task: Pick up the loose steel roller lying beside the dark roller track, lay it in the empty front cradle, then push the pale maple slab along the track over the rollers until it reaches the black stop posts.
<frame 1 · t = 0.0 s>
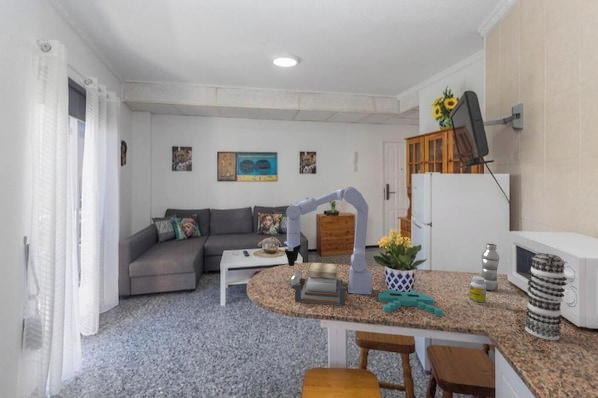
hand: (293, 263, 127), 10 cm above the breakfast bar counter, tool pointing down, fingers open, 7 cm apart
supplement bottle: (477, 302, 114), on the breakfast bar counter
alien figure: (405, 303, 113), on the breakfast bar counter
loose roller: (296, 283, 131), on the breakfast bar counter
slab: (323, 270, 130), point 6 cm above the breakfast bar counter, slide at 0.0 cm
roller bed: (321, 289, 124), on the breakfast bar counter
decorative candle: (541, 333, 92), on the breakfast bar counter
plastic bottle: (488, 289, 127), on the breakfast bar counter
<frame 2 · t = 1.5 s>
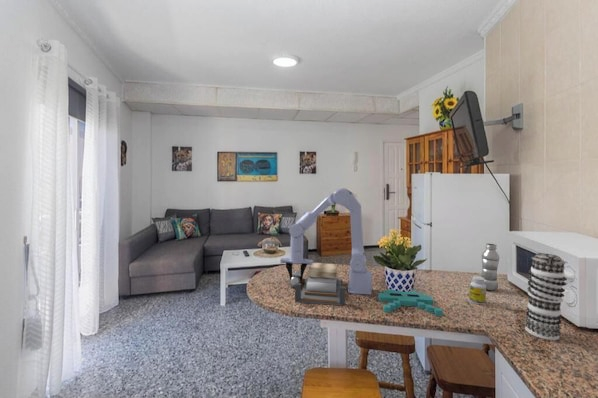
hand: (296, 279, 131), 1 cm above the breakfast bar counter, tool pointing down, fingers closed on loose roller, 4 cm apart
loose roller: (296, 282, 131), on the breakfast bar counter, touching gripper
everything else where it was.
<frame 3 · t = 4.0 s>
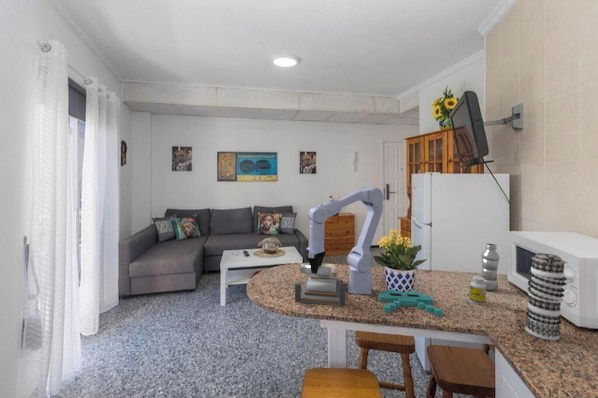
hand: (316, 271, 116), 10 cm above the breakfast bar counter, tool pointing down, fingers closed on loose roller, 4 cm apart
loose roller: (315, 275, 116), point 9 cm above the breakfast bar counter, touching gripper
everything else where it was.
when the fingers open (3 cm above the breakfast bar counter, at t = 6.4 s): loose roller stays where it is, resting on roller bed.
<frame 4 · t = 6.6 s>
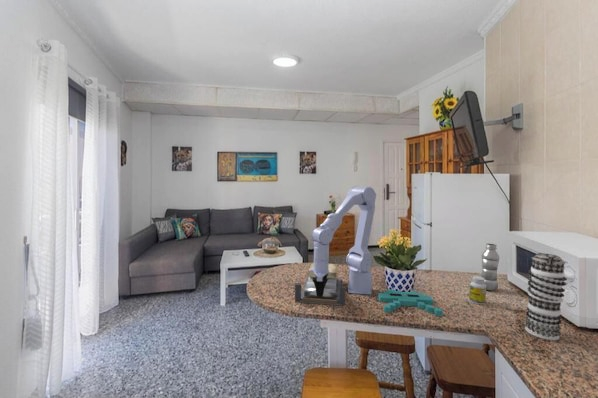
hand: (320, 292, 114), 3 cm above the breakfast bar counter, tool pointing down, fingers open, 6 cm apart
loose roller: (320, 298, 114), resting on roller bed
everything else where it was.
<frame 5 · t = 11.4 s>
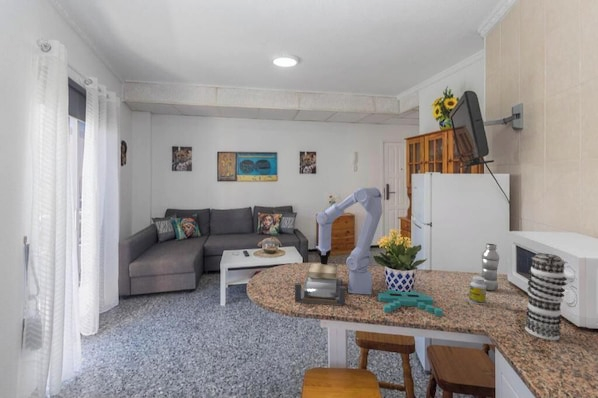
hand: (324, 266, 136), 6 cm above the breakfast bar counter, tool pointing down, fingers closed
loose roller: (320, 298, 114), resting on roller bed, tilted 15°
slab: (323, 270, 129), point 6 cm above the breakfast bar counter, slide at 0.9 cm, touching gripper
everything else where it was.
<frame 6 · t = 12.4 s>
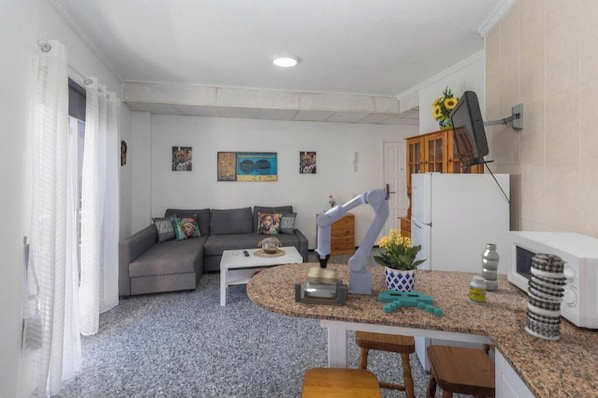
hand: (323, 270, 130), 6 cm above the breakfast bar counter, tool pointing down, fingers closed
slab: (322, 275, 123), point 6 cm above the breakfast bar counter, slide at 6.8 cm, touching gripper
everything else where it was.
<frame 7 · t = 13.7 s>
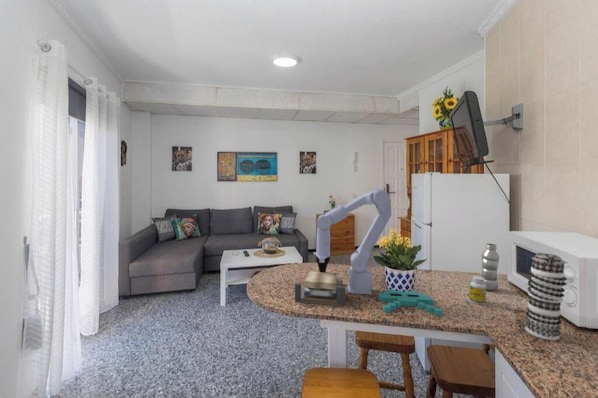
hand: (322, 274, 125), 6 cm above the breakfast bar counter, tool pointing down, fingers closed
loose roller: (320, 298, 114), resting on roller bed, tilted 6°
slab: (321, 279, 118), point 6 cm above the breakfast bar counter, slide at 12.3 cm, touching gripper
everything else where it was.
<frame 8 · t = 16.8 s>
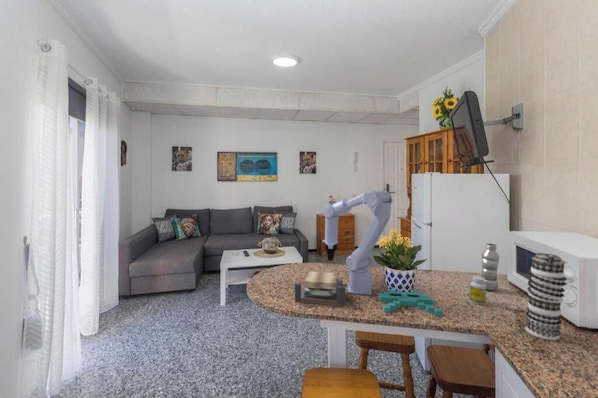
hand: (330, 260, 134), 9 cm above the breakfast bar counter, tool pointing down, fingers closed
loose roller: (320, 298, 114), resting on roller bed, tilted 12°
slab: (321, 279, 118), point 6 cm above the breakfast bar counter, slide at 12.3 cm
everything else where it was.
at the end: slab slide at 12.3 cm; loose roller inside the target area (0.1 cm from its centre), resting on roller bed; the gripper is holding nothing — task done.
